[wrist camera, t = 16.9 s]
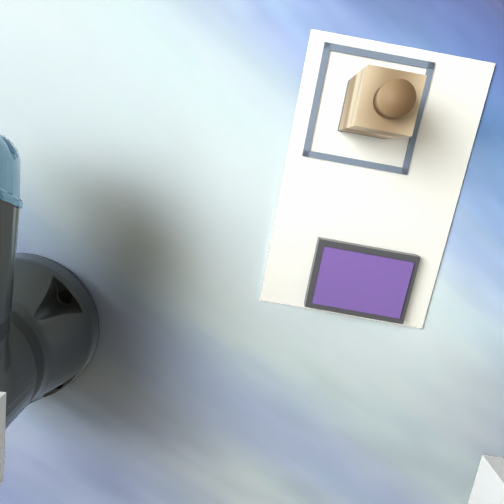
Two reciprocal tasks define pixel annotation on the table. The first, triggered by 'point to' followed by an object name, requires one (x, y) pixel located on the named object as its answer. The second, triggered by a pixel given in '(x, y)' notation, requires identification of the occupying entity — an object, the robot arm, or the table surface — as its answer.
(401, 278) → the ink pad
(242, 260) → the table surface
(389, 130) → the stamp
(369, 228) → the sheet
